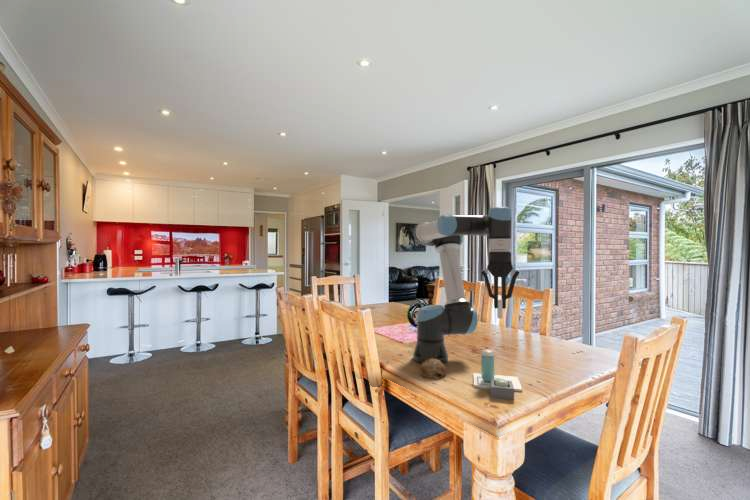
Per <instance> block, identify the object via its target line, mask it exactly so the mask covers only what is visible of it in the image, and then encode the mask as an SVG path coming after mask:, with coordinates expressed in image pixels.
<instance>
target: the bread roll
mask: <svg viewBox="0 0 750 500" xmlns="http://www.w3.org/2000/svg"><path fill="white" fill-rule="evenodd" d="M419 372H420V374H421V376H422V377H424V378H427V379H434V380H437V379H441V378H444V377H446V375H447V367H446V365H445V363H444V364H443V363H442V362H441V361H440V360H438V359H435V358H430V359H427V360H425V361H424V362H423V363H420V366H419Z"/></svg>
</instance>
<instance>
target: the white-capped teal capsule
mask: <svg viewBox="0 0 750 500" xmlns="http://www.w3.org/2000/svg"><path fill="white" fill-rule="evenodd" d="M480 357H481V362H480V363H481V365H480V367H481V374H482V379H483V381H484V382H486V383H490V379H494V375H495V351H494V350H492V349H482V350H481V351H480Z"/></svg>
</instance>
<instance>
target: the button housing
mask: <svg viewBox="0 0 750 500" xmlns="http://www.w3.org/2000/svg"><path fill="white" fill-rule="evenodd" d="M489 390H490V398H494V399H503V400H504V399H505V400H512V401H513V400H514V401H515V391H514V387H513V384H512V381H508V387H501V386H495V379H490V389H489Z"/></svg>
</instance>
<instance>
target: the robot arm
mask: <svg viewBox="0 0 750 500" xmlns="http://www.w3.org/2000/svg"><path fill="white" fill-rule="evenodd" d="M412 235H413V237H414V239H415V241H416V242H417V243H418V244H420V245H422V246H426V247H427V246H428V247H435V251H436V252H437V253H438V254H439V259H440V264H441V265H440V266H441V272H442V280H443V284H444V285H443V286H444V293H445V297H446V298H445V299H446V302H445V303H444V305H442V304H431V305H425V306H422V307H420V308H418V309H417V312H416V313H417V315H416V329H417V330H416V335H417V336H416V344H415V348H414V351H413V353H412V359H413V361H414V362H416V363H419V364H422V363H423V362H424V361H425V360H427V359H430V358H435V359H438V360H440V361H441V362H442V363H443V364H444V365H445V364H446V363H447V362H448V361H449V355H448V350H447V348H446V346H445V341H444V340H445V336H449V335H450V336H451V335H453V336H455V335H469V334H472V333H474V332H475V331H476V328H477V326H478V321H479V320H478V319H479V317H478V312H477V311H478V310H476V308H475V307H473V306H471V302H470V301H469V300H468V299H466V293H465V287H464V282H463V276H462V275H463V274H462V270H461V269H462V268H461V263H460V258H459V252H458V251H459V249H460V247H461V245H462V243H463V240H464V238H463V237H464V236H479V237H484V236H488V250H489V252H488V264H487V266H486V268H484V269H482V270H481V271H480V273H481V275H482V276H483V277H484V278H483V279H484V281H485V286H486V289H487V294H488V296H489V297H490V298H492V299H493V308H494V309H497V310H496V311H497V313H496V314H497V315H496V316H497V319H503V310H505V309H506V308H507V299H511V298H512V295H513V292H514V289H515V285H516V284H515V283H516V280H517V277H518V276H519V275H520V271H518V270H517V269H515V268H513V267H514V266H513V264H512V251H511V250H512V211H511V208H510V207H508V206H495V207H490V208H489V209H488V214H487V215H486V214H485V215H477V214H476V215H475V214H474V215H472V214H469V215H468V214H467V215H465V214H463V215H462V214H461V215H460V214H459V215H458V214H442V215H440V216H439V217H438V219H437V220H433V221H424V222H420V223H418V224H416V225H415V226H414V228H413V233H412ZM489 273H490V274H491V275H492V277H493V291H492V287H491V284H490V280H489V276H488V275H489ZM510 273H511V275H512V276H511V278H510V281H509V282H510V283H509V286H508V290H507V277H508V276H509V274H510ZM499 278H501V298H499Z"/></svg>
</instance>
